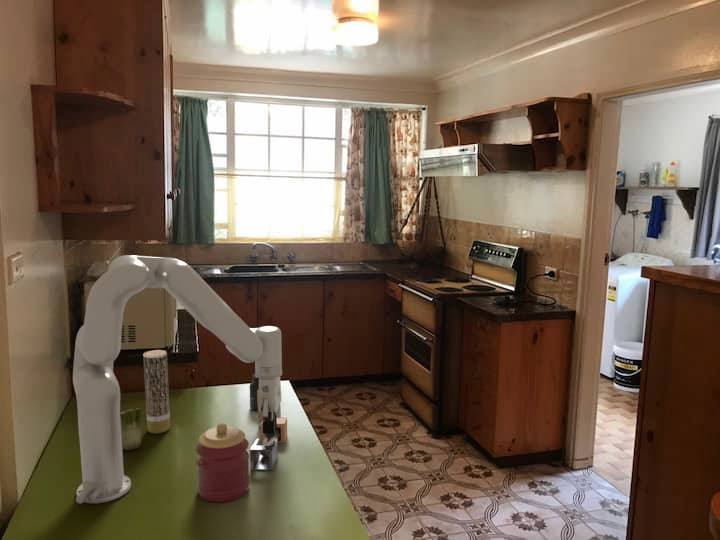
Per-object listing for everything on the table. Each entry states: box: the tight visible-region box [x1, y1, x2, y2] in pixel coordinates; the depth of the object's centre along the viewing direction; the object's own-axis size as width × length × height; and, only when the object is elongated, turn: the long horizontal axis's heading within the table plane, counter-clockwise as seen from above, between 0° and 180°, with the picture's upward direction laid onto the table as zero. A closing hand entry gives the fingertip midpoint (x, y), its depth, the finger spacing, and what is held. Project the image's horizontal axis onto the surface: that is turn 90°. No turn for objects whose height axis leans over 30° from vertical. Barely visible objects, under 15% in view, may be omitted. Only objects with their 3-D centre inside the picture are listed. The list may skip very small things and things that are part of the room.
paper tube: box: [143, 349, 171, 435], centre depth 180 cm, size 7×7×25 cm
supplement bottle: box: [249, 373, 259, 413], centre depth 198 cm, size 7×7×12 cm
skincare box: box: [257, 390, 282, 428], centre depth 184 cm, size 6×4×12 cm
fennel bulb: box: [120, 407, 143, 451], centre depth 168 cm, size 6×5×12 cm
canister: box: [195, 422, 251, 503], centre depth 145 cm, size 13×13×18 cm
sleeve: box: [249, 438, 279, 471], centre depth 160 cm, size 8×6×6 cm
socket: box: [260, 417, 288, 444], centre depth 175 cm, size 4×7×6 cm, turn 88°
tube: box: [260, 414, 280, 457], centre depth 168 cm, size 12×4×10 cm, turn 178°
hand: (269, 430), depth 168 cm, fingers closed on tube, 3 cm apart
